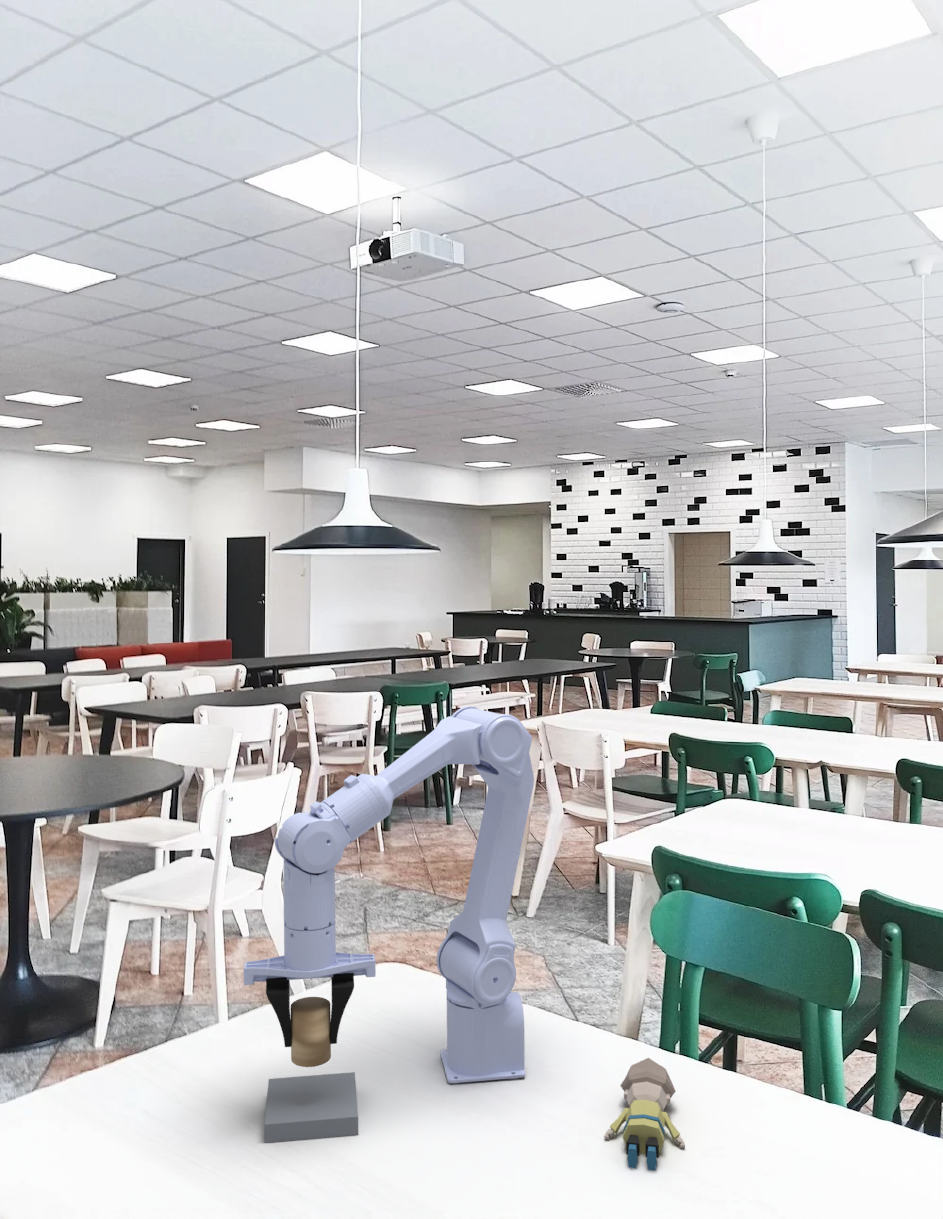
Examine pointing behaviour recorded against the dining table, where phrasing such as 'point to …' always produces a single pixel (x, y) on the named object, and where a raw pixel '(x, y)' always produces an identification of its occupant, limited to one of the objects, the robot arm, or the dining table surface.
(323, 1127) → the plate
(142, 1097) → the dining table surface
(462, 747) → the robot arm
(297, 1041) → the oak cylinder
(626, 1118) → the toy
